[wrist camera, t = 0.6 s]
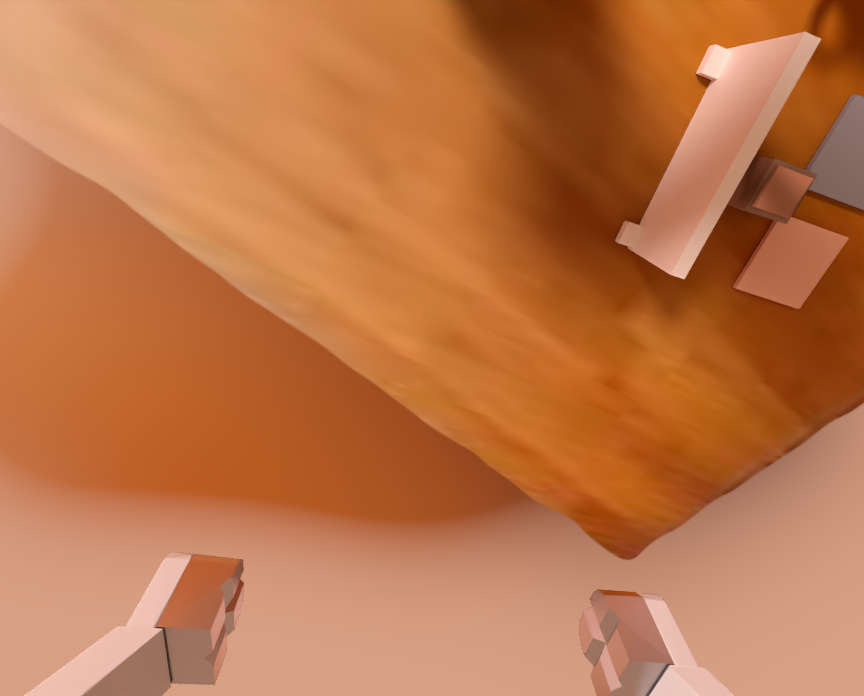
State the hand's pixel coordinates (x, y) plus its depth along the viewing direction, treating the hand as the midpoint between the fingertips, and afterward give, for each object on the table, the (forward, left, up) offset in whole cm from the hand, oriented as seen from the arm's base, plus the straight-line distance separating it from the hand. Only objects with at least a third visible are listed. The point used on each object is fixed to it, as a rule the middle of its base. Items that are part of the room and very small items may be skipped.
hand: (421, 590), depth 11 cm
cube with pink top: (-14, +33, -45) cm, 57 cm away
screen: (-14, +24, -44) cm, 52 cm away
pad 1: (-8, +42, -44) cm, 62 cm away
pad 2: (-20, +42, -44) cm, 65 cm away
